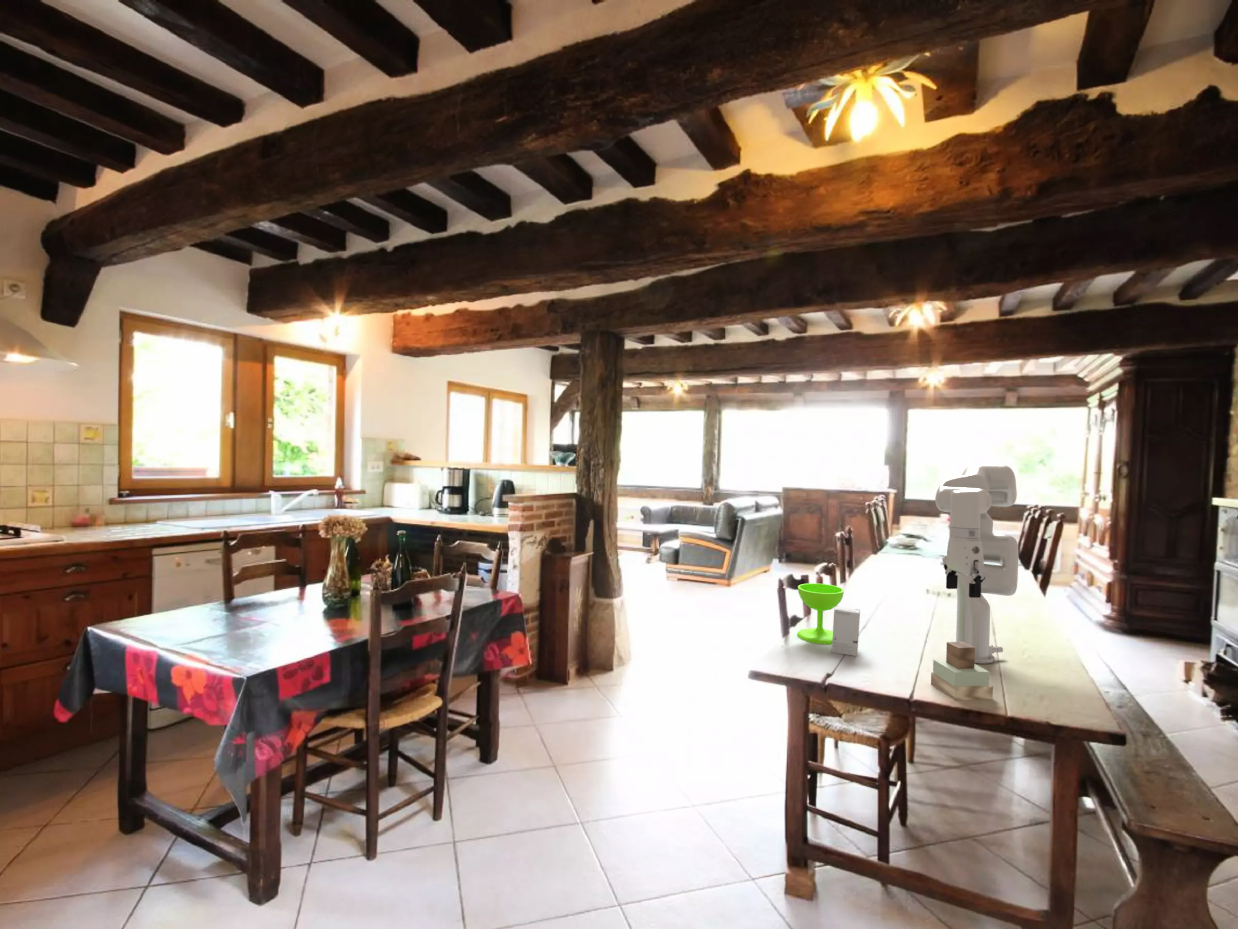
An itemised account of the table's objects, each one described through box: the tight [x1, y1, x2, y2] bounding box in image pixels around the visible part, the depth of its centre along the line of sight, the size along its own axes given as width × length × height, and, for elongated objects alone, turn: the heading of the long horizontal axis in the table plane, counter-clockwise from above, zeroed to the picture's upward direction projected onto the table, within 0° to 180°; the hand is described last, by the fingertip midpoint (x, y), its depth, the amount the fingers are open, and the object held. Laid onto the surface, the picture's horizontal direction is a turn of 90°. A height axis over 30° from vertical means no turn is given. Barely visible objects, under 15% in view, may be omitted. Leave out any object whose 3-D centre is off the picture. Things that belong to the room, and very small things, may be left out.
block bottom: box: [930, 671, 994, 701], centre depth 171 cm, size 11×11×4 cm
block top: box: [932, 658, 990, 687], centre depth 171 cm, size 10×10×4 cm
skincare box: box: [831, 605, 861, 657], centre depth 203 cm, size 8×6×15 cm
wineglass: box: [796, 582, 845, 645], centre depth 218 cm, size 16×16×18 cm
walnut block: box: [945, 641, 976, 669], centre depth 171 cm, size 5×5×6 cm
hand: (962, 592), depth 171 cm, fingers open, 9 cm apart
